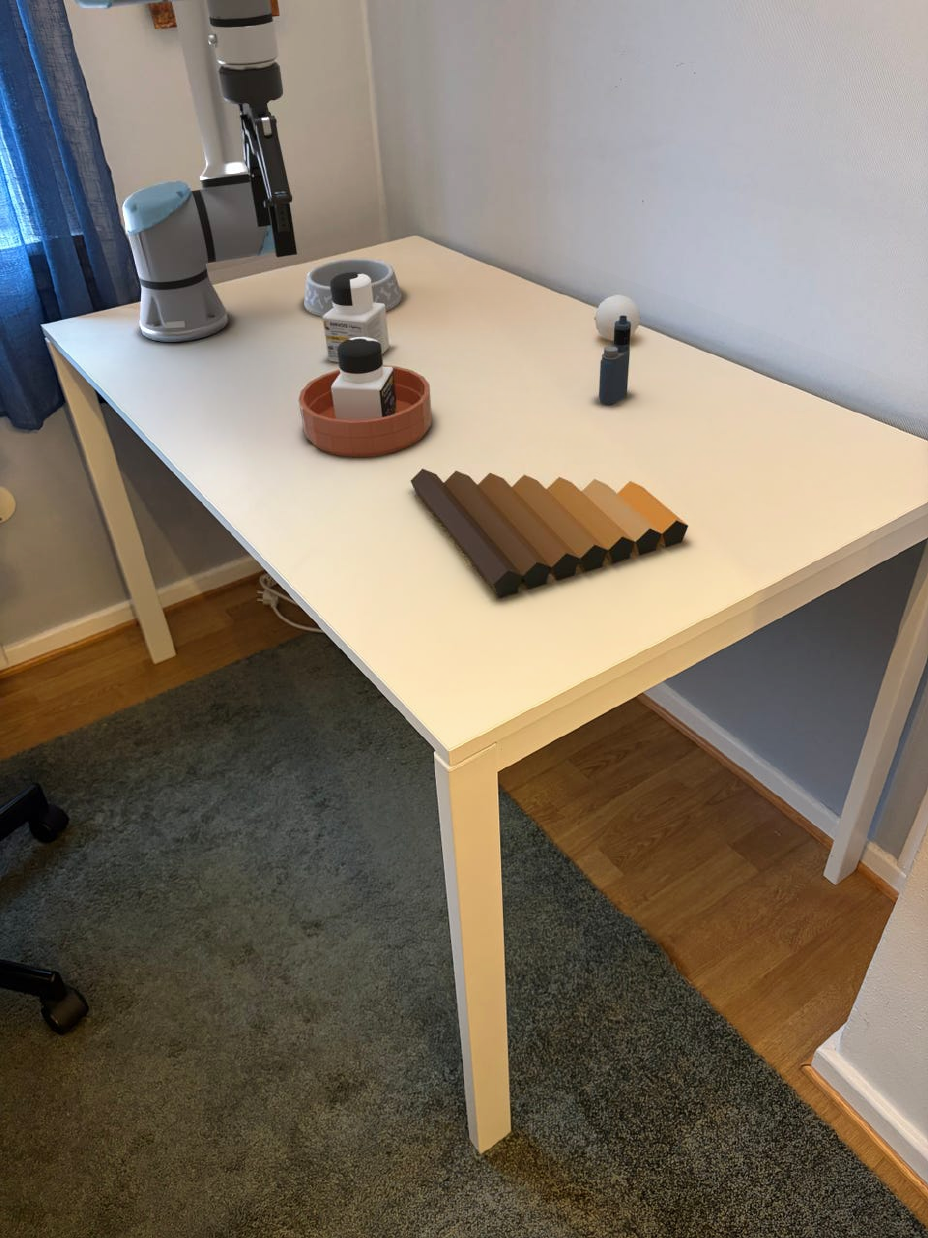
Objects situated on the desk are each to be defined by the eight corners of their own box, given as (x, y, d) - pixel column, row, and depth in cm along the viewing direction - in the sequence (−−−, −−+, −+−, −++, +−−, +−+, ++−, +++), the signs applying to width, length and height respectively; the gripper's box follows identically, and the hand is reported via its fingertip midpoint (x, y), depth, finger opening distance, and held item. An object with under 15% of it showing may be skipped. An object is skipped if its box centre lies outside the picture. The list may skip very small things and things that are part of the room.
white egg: (647, 343, 157) (650, 299, 152) (606, 351, 155) (609, 307, 150) (618, 322, 164) (620, 280, 160) (579, 330, 162) (580, 287, 158)
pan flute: (411, 494, 123) (493, 600, 104) (409, 471, 121) (492, 574, 102) (582, 449, 130) (686, 540, 112) (582, 427, 128) (689, 516, 109)
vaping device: (630, 394, 142) (636, 316, 135) (609, 407, 139) (613, 327, 132) (616, 390, 144) (621, 312, 136) (595, 402, 141) (598, 323, 133)
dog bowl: (399, 315, 172) (396, 286, 168) (298, 320, 172) (293, 290, 169) (405, 282, 185) (402, 254, 181) (311, 286, 186) (307, 258, 182)
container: (327, 361, 157) (316, 282, 149) (349, 343, 163) (339, 266, 155) (369, 366, 155) (360, 286, 147) (390, 348, 160) (382, 270, 152)
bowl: (294, 412, 143) (288, 378, 139) (411, 390, 147) (408, 356, 144) (319, 469, 129) (313, 432, 126) (448, 442, 133) (446, 406, 130)
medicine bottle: (385, 435, 134) (376, 353, 127) (336, 432, 135) (325, 351, 128) (398, 412, 140) (390, 332, 132) (351, 409, 141) (341, 331, 133)
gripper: (203, 50, 125) (234, 217, 139) (234, 84, 107) (266, 273, 121) (260, 44, 127) (285, 209, 141) (299, 77, 109) (324, 264, 123)
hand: (276, 239), depth 131 cm, fingers open, 13 cm apart
